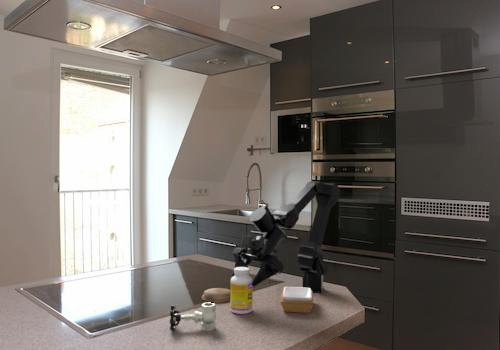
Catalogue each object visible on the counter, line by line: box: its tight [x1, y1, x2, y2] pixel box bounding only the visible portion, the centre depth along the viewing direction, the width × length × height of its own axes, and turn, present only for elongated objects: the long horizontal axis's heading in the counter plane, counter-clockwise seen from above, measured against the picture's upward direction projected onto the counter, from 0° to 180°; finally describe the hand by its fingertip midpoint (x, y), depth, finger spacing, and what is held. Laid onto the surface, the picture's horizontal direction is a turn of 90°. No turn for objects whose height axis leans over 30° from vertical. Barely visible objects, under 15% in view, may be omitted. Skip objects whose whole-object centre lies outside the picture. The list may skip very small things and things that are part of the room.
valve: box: [169, 302, 217, 332], centre depth 110 cm, size 7×7×12 cm
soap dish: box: [280, 286, 315, 314], centre depth 128 cm, size 12×10×5 cm
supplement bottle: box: [229, 267, 254, 315], centre depth 124 cm, size 7×7×13 cm
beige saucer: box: [201, 287, 231, 304], centre depth 136 cm, size 10×10×2 cm
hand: (242, 282), depth 124 cm, fingers open, 9 cm apart
